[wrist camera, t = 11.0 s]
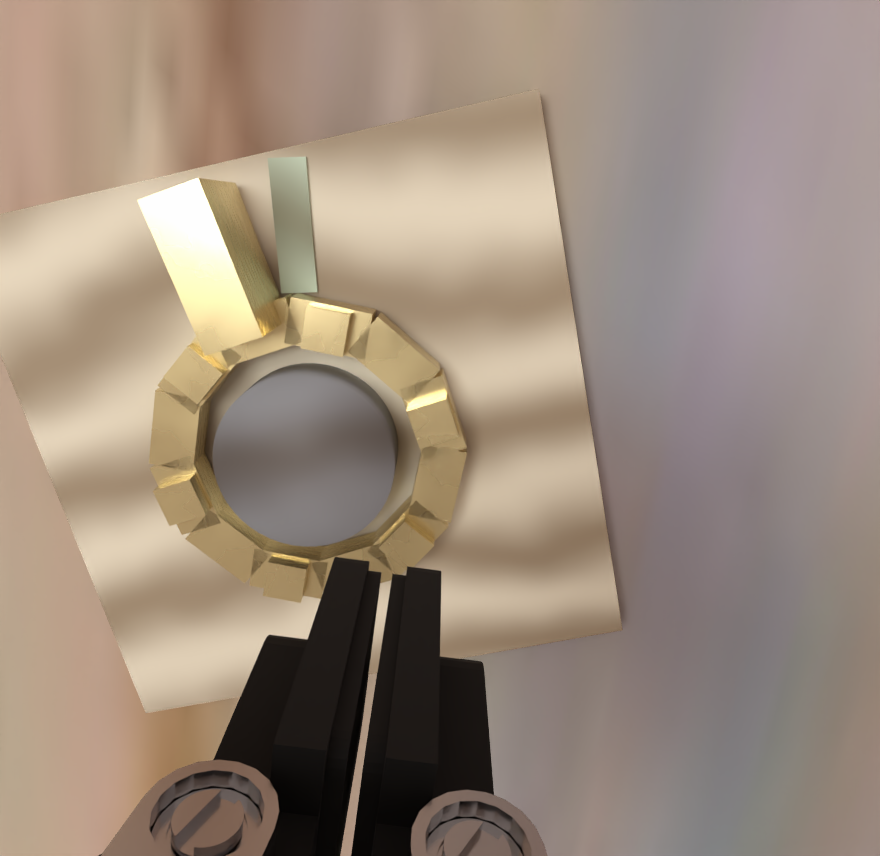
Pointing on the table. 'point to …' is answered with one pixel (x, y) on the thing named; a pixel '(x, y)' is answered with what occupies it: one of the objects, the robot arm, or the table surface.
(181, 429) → the ring nut
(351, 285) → the base
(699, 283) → the table surface
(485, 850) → the robot arm
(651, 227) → the table surface
